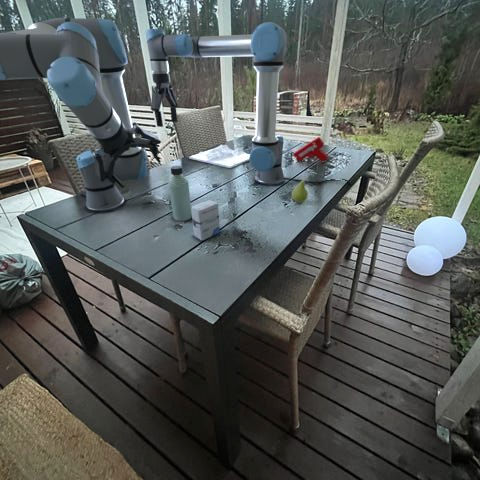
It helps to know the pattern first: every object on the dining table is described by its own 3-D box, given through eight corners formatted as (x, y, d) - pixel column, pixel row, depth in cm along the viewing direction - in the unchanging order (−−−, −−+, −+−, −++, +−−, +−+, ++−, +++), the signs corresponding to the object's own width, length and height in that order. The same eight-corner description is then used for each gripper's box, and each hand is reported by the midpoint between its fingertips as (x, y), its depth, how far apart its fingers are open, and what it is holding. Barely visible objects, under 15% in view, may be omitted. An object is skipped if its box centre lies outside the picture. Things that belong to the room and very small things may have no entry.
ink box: (211, 227, 103) (209, 198, 96) (220, 232, 100) (219, 203, 93) (193, 236, 98) (190, 206, 91) (202, 241, 95) (199, 210, 88)
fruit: (288, 200, 123) (290, 174, 116) (302, 197, 125) (305, 172, 119) (296, 206, 118) (299, 179, 111) (310, 203, 120) (314, 177, 114)
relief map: (230, 168, 162) (230, 159, 159) (189, 158, 180) (188, 150, 177) (256, 157, 180) (256, 149, 177) (216, 149, 198) (215, 142, 195)
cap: (184, 172, 102) (183, 166, 101) (179, 175, 99) (178, 169, 97) (174, 171, 103) (173, 165, 102) (169, 174, 100) (168, 168, 98)
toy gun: (332, 156, 168) (319, 135, 164) (331, 158, 165) (319, 137, 161) (306, 172, 178) (294, 152, 174) (305, 174, 175) (293, 154, 171)
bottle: (195, 213, 113) (189, 166, 102) (187, 222, 107) (181, 172, 96) (178, 211, 115) (171, 164, 104) (170, 219, 108) (162, 170, 98)
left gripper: (67, 167, 61) (111, 203, 82) (158, 109, 65) (179, 157, 86) (51, 145, 63) (99, 186, 83) (141, 89, 67) (165, 141, 87)
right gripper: (167, 72, 132) (173, 119, 143) (136, 73, 112) (146, 128, 123) (181, 72, 130) (186, 120, 141) (151, 73, 110) (160, 129, 121)
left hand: (139, 171), depth 85 cm, fingers open, 13 cm apart
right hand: (167, 124), depth 132 cm, fingers open, 13 cm apart
